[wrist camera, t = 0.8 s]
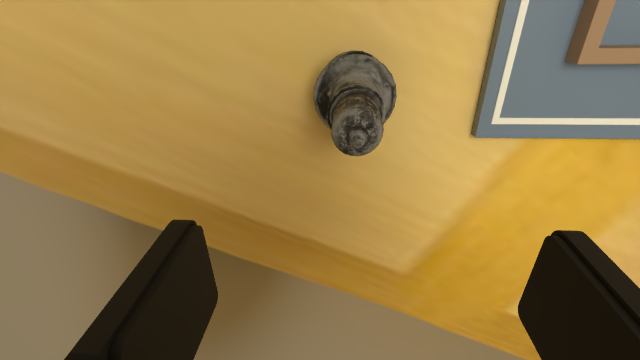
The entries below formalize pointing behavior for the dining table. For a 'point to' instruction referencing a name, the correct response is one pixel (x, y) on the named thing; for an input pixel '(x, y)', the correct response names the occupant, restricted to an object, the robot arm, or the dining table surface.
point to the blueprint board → (562, 71)
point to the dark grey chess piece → (355, 101)
